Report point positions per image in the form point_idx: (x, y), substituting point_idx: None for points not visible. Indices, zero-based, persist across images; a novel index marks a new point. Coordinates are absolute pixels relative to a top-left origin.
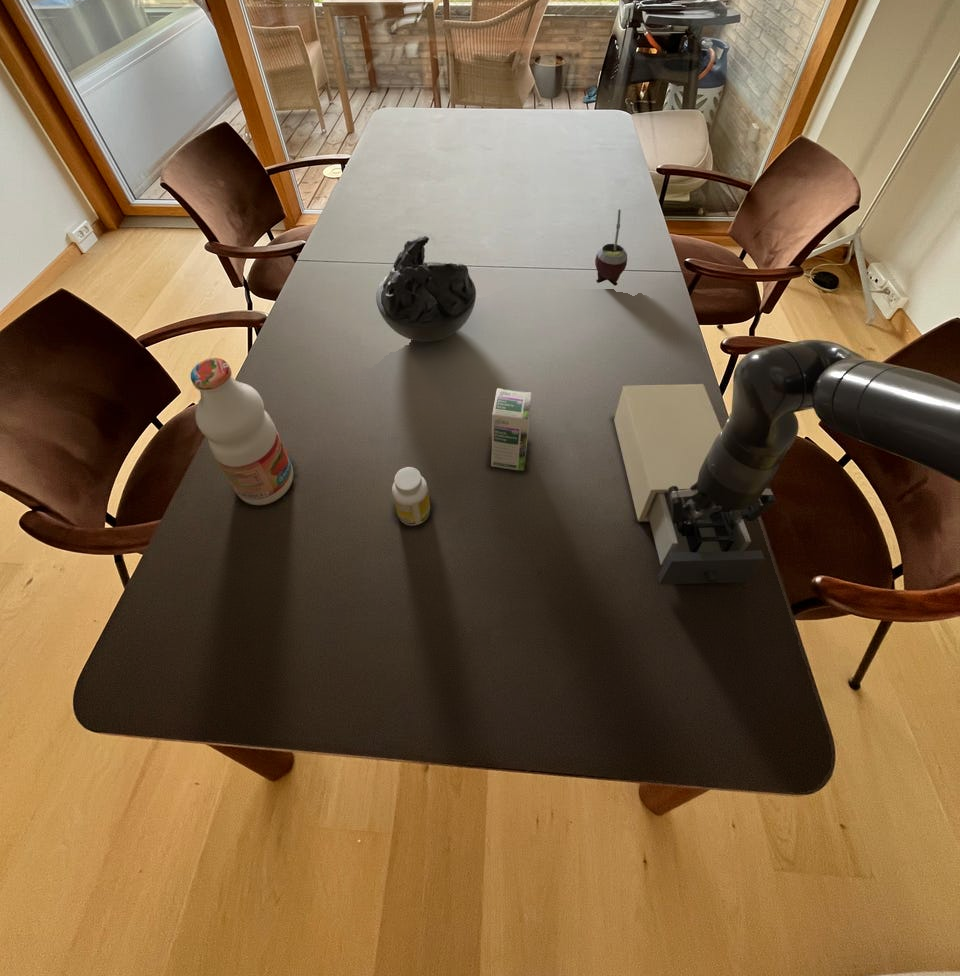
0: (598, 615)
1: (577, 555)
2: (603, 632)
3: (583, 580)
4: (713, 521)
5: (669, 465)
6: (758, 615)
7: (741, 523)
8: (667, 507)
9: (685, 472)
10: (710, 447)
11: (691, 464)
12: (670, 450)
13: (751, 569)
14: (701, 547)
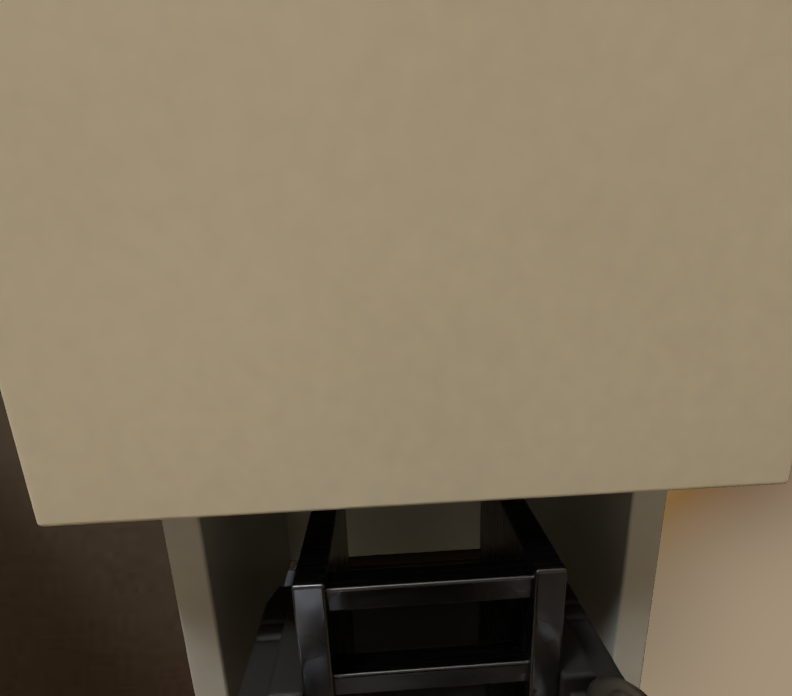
0: (85, 651)
1: (3, 494)
2: (101, 687)
3: (31, 567)
4: (485, 559)
5: (223, 290)
6: None
7: (629, 640)
8: (203, 574)
9: (359, 364)
10: (696, 65)
11: (437, 277)
12: (256, 102)
13: None
14: (430, 505)
